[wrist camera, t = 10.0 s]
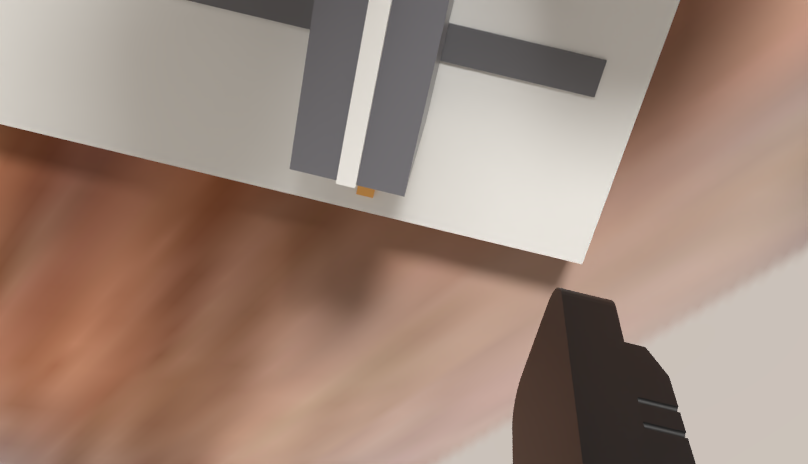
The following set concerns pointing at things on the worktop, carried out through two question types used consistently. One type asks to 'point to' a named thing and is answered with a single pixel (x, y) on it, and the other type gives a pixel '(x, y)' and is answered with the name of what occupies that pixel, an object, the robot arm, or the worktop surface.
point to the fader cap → (368, 89)
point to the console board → (281, 87)
